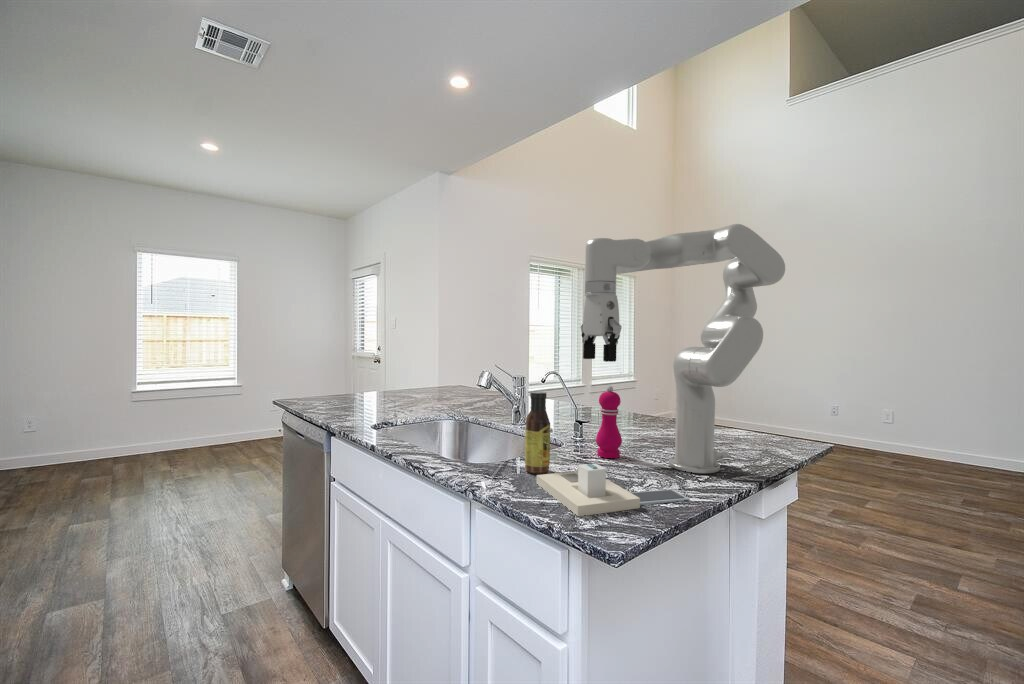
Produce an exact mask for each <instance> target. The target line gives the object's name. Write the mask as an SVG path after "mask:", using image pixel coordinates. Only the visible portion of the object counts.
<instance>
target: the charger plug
mask: <svg viewBox="0 0 1024 684" xmlns="http://www.w3.org/2000/svg"><path fill="white" fill-rule="evenodd" d="M577 466H578V470H577V471H578V491H579V492H581V493H582V494H584V495H585V496H587V497H588V498H597V497H605V496H606V479H607V469H606V468H605V467H603V466H601V465H600V464H598V463H587V464H584V463H583V464H578V465H577Z"/></svg>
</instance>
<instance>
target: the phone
mask: <svg viewBox="0 0 1024 684" xmlns="http://www.w3.org/2000/svg"><path fill="white" fill-rule="evenodd" d="M629 492H630V491H629ZM630 493H632V494H633V495H635V496H637V497H639V498H640V506H645V505H655V504H665V503H666V502H669V503H677V502H676V501H679V502H685V501H684V500H689V501H690V498H689V497H688V496H685V495H684V494H682V493H680V492H678V491H677V490H675V489H673V488H672V489H671V488H670V489H657V490H645V491H632V492H630ZM666 504H667V503H666Z"/></svg>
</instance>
